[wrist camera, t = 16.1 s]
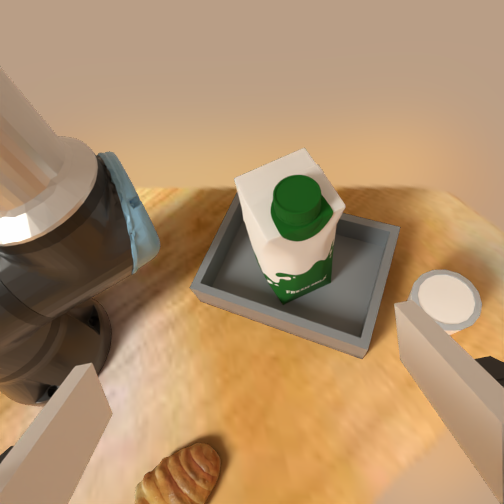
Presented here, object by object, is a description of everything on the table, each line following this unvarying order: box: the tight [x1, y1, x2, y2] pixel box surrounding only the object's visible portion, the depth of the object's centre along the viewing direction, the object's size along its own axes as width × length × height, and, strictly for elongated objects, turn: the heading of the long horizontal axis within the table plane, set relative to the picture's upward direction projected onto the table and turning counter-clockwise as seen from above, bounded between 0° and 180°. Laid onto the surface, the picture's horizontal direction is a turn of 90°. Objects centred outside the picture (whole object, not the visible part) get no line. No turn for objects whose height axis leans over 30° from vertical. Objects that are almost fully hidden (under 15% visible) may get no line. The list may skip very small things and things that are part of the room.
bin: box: [190, 192, 400, 359], centre depth 47 cm, size 22×16×5 cm
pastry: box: [135, 443, 221, 504], centre depth 38 cm, size 9×7×4 cm
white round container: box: [407, 270, 482, 335], centre depth 41 cm, size 7×7×7 cm
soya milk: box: [234, 148, 345, 305], centre depth 39 cm, size 9×9×20 cm
